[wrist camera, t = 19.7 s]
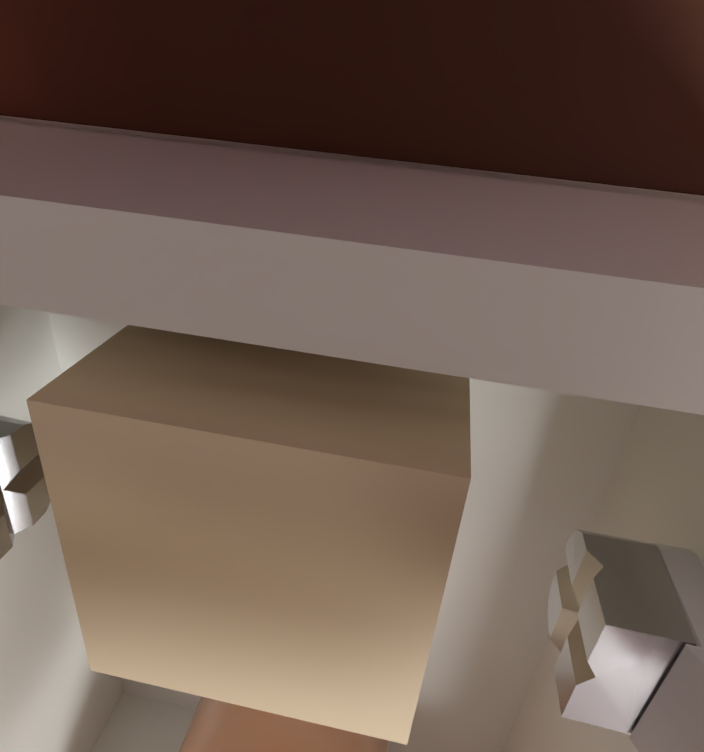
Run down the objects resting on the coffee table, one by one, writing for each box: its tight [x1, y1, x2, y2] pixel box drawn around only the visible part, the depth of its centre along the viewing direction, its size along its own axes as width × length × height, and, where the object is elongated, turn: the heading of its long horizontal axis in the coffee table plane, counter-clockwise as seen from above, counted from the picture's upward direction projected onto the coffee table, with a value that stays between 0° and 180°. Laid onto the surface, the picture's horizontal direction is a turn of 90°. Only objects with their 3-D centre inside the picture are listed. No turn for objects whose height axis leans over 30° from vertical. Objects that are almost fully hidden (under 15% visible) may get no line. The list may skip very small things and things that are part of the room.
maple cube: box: [26, 325, 471, 745], centre depth 9 cm, size 5×5×5 cm
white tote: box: [0, 115, 704, 752], centre depth 12 cm, size 14×18×6 cm
